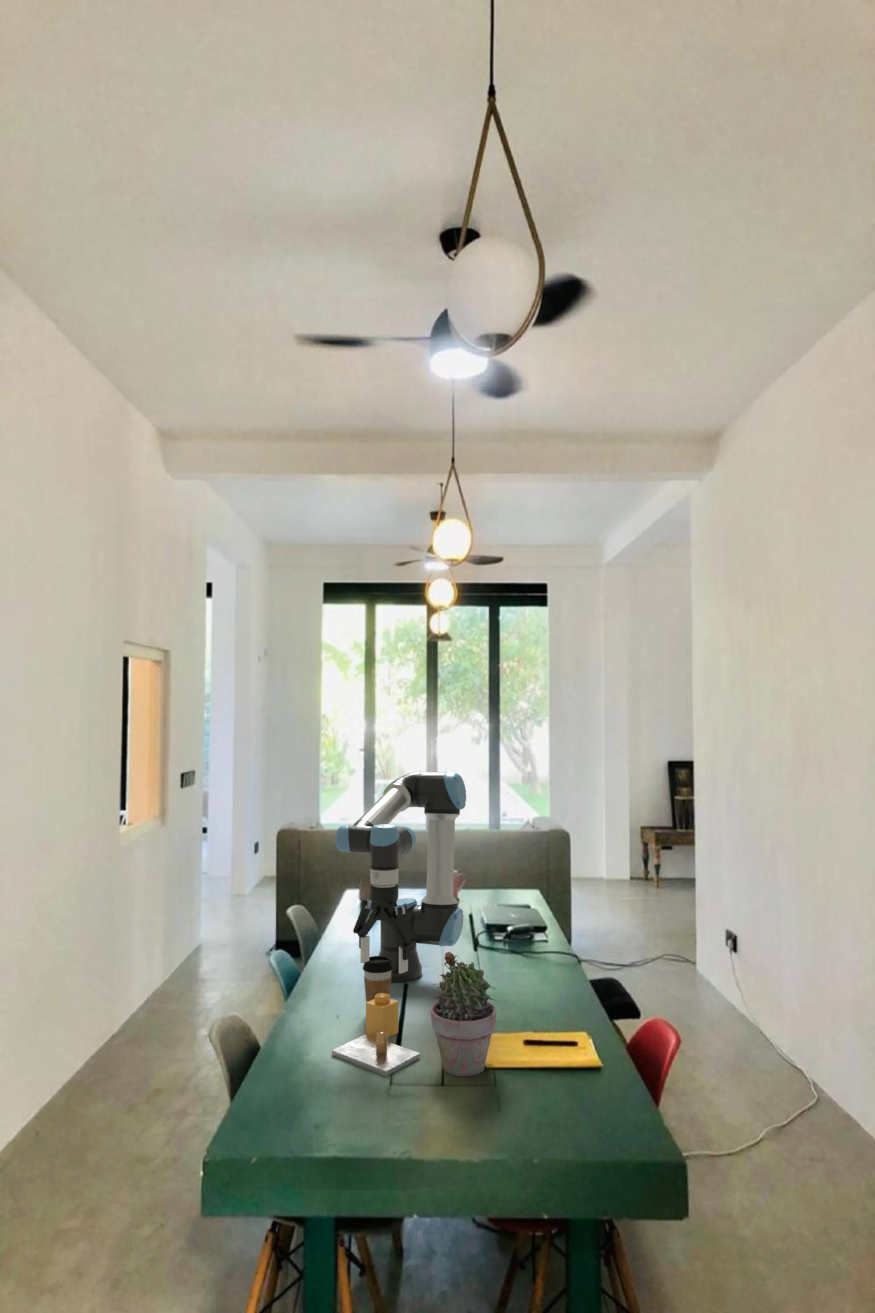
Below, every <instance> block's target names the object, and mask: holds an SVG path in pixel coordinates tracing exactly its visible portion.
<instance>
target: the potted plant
mask: <svg viewBox="0 0 875 1313" xmlns="http://www.w3.org/2000/svg"><path fill="white" fill-rule="evenodd" d="M456 957H457V958H458V959H460V957H459V956H458V955H455V954H454V953H452V952H451V951H447V952H445V953H444V960H445V962H444V963H443V964H444V966H445V967H447V970H449V971H450V972H449V971H446V973H445V974H444V973H442V974H440V975H439V977H442V981H439V987H438V986H437V989H440V990H441V992H439V993H438V994H437V996H436V997H435V996H434V999H437V1000H438V1001H437V1002H435V1003H433V1005H432V1007H431V1009H430V1017H431V1018H430V1019H431V1029H432V1030H433V1032H435V1038H436V1042H437V1046H438V1052H439V1056H440V1059H441V1063H442V1068H443V1070H444V1071H445V1073H447V1074H449V1075H451V1076H456V1077H473V1076H476V1075H479V1074H481V1073H482V1072H484V1070H485V1066H486V1063H487V1056H488V1054H489V1047H490V1043H491V1039H492V1035H493V1032H494V1031H495V1030H496V1021H497V1009H496V1008H497V1007H495V1006H494V1004H493V1003H491V1002H489V1000H490V1001H491V1000H492V1001H495V1002H497V1003H499V1001H496V999H493V998H491V996H490V995H489V994H488V993H487V990H488V989H490V990H492V989H493V990H494V991H495V990H497V987H495V986H493V985H491V984H490V983H489V982H488V981H486V979H485V978H484V975H485V974H484V973H485V971H484V969H483V970H482V969H477V968H475V962H473V961H471V963H469V964H468V963H464V961H463V962H462V961H460V962H458V959H456ZM434 985H436V983H435V984H434V983H433V984H432V986H434ZM425 986H427V985H426V984H425V985H424V987H425ZM502 993H504V991H502ZM499 1004H500V1003H499ZM500 1010H502V1011H505V1012H506V1010H504V1009H500Z"/></svg>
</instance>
